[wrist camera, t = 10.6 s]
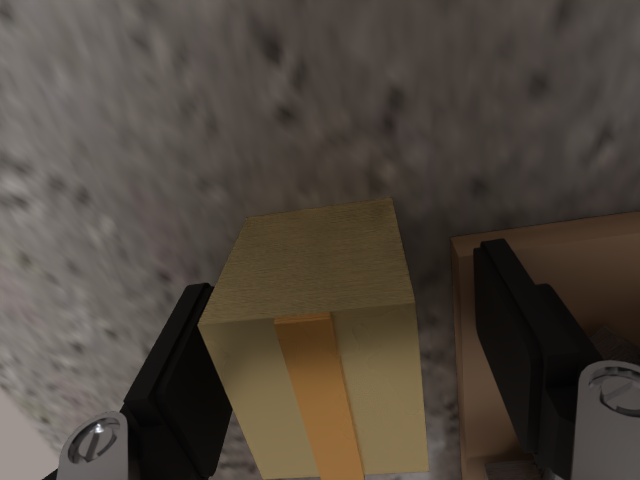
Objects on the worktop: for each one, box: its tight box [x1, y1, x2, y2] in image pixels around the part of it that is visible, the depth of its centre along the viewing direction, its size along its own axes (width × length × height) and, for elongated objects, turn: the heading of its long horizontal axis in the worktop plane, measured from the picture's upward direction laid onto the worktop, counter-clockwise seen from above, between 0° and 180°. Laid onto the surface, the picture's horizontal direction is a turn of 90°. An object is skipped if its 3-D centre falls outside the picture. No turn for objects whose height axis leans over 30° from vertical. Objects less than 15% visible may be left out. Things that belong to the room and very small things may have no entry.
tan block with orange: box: [197, 197, 429, 480], centre depth 10 cm, size 5×4×5 cm
